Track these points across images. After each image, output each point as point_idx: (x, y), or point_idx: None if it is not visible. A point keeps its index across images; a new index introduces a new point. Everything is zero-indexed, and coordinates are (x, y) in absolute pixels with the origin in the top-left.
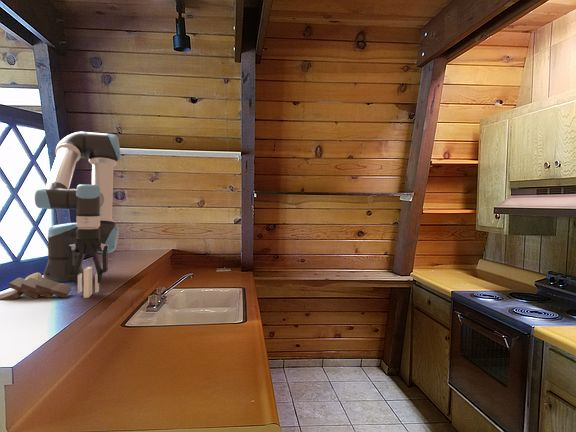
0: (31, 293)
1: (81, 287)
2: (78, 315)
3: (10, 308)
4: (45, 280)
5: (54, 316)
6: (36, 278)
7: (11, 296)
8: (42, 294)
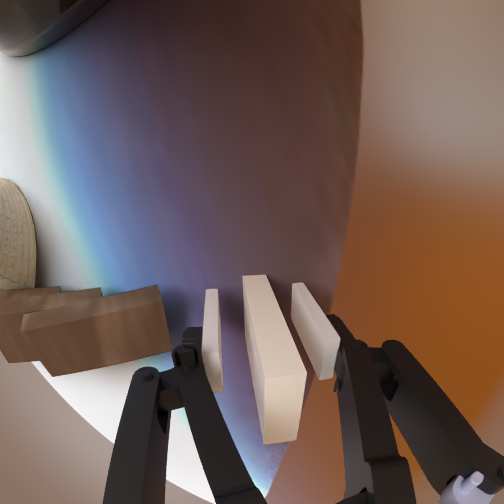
0: None
1: (218, 311)
2: (281, 455)
3: (83, 409)
4: (44, 340)
5: None
6: None
7: None
8: None
